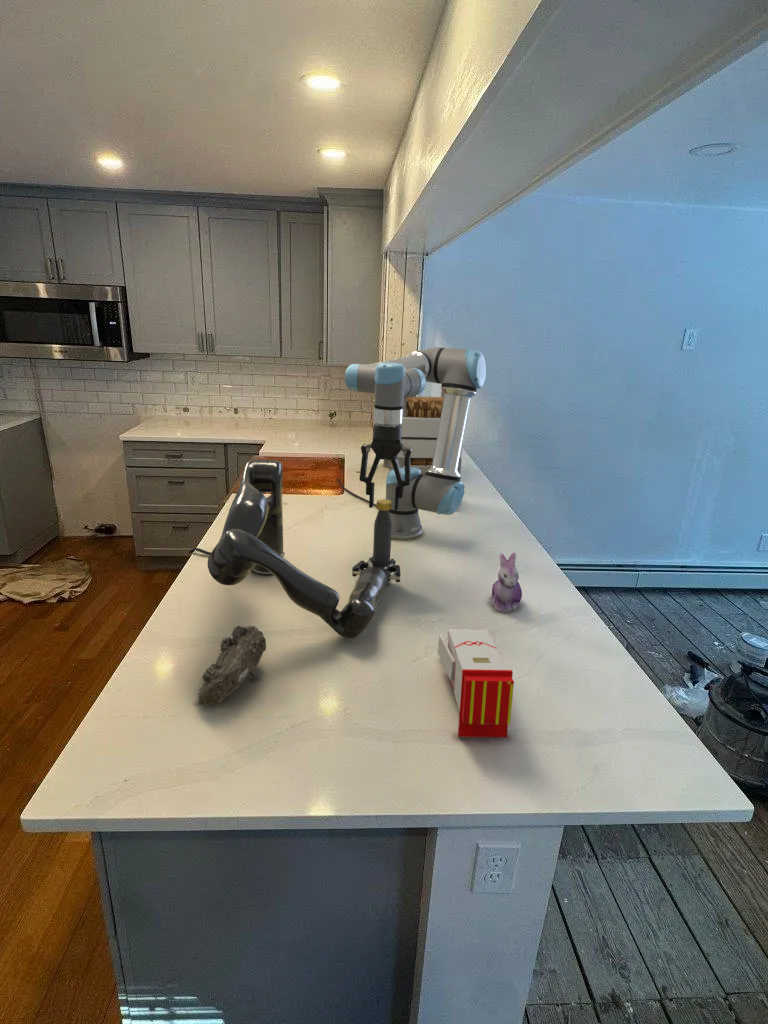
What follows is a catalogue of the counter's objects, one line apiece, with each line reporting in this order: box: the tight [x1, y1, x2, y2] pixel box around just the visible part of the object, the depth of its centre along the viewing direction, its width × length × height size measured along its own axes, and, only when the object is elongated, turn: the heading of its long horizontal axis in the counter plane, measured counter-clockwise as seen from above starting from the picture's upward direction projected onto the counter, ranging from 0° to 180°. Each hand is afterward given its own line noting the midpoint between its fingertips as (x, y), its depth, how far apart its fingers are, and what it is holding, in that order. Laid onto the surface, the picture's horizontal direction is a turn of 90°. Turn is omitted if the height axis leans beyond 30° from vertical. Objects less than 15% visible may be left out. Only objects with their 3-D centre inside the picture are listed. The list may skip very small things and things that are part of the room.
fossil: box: [197, 625, 267, 705], centre depth 118 cm, size 22×10×15 cm
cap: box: [375, 498, 392, 511], centre depth 156 cm, size 4×4×2 cm
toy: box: [437, 628, 515, 738], centre depth 117 cm, size 12×13×30 cm
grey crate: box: [383, 390, 464, 475], centre depth 268 cm, size 34×33×41 cm
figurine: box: [490, 551, 523, 613], centre depth 152 cm, size 9×10×15 cm
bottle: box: [372, 510, 392, 587], centre depth 160 cm, size 5×5×24 cm
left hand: (383, 560), depth 164 cm, fingers closed on bottle, 5 cm apart
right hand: (383, 507), depth 156 cm, fingers open, 6 cm apart
